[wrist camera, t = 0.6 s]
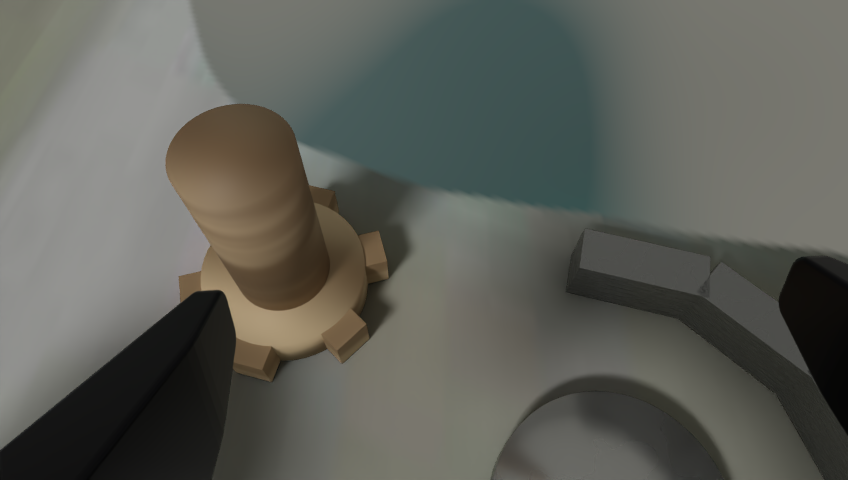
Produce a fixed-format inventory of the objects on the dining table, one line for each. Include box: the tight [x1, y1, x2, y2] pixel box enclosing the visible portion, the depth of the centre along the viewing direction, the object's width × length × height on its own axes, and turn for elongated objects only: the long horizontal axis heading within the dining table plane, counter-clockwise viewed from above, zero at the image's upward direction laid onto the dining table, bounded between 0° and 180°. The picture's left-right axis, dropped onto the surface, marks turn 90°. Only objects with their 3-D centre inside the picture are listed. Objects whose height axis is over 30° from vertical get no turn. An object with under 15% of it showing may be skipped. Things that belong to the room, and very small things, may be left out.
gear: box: [166, 104, 389, 382], centre depth 22 cm, size 9×8×10 cm
